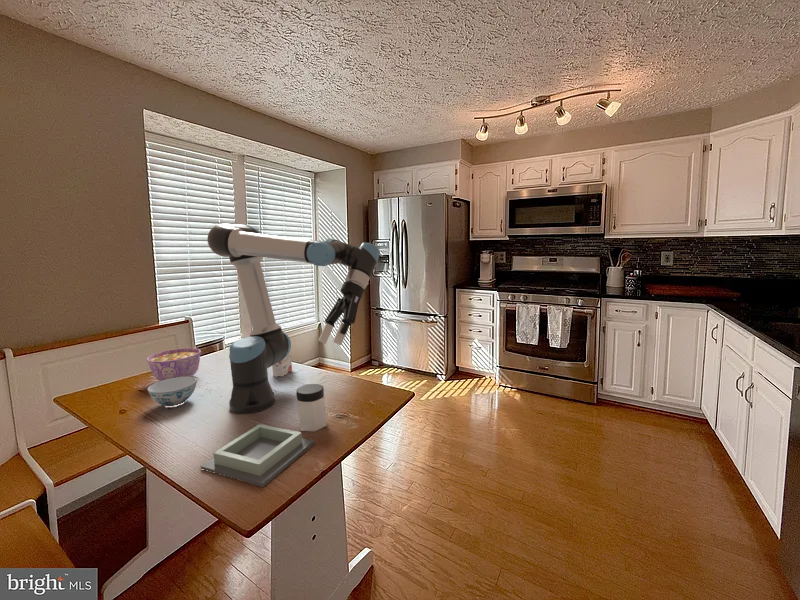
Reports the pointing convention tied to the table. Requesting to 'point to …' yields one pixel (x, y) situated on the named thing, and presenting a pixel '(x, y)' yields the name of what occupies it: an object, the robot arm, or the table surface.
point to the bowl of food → (174, 363)
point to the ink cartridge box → (282, 366)
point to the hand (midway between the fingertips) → (329, 343)
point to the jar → (311, 407)
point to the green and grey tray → (258, 454)
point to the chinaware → (172, 390)
